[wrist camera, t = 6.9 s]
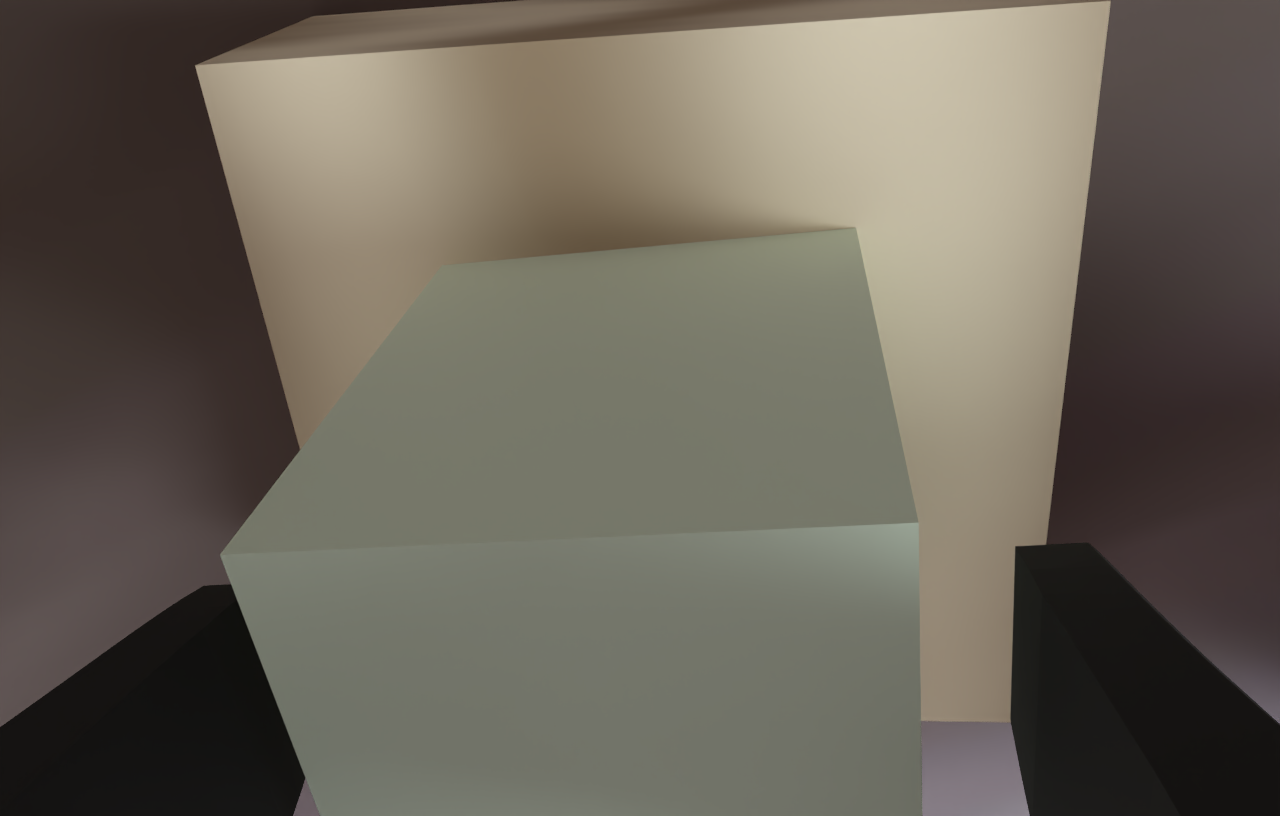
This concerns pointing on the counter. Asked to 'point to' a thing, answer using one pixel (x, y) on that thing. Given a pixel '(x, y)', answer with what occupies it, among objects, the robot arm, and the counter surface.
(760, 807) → the sage block
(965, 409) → the birch base
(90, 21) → the counter surface
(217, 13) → the counter surface
